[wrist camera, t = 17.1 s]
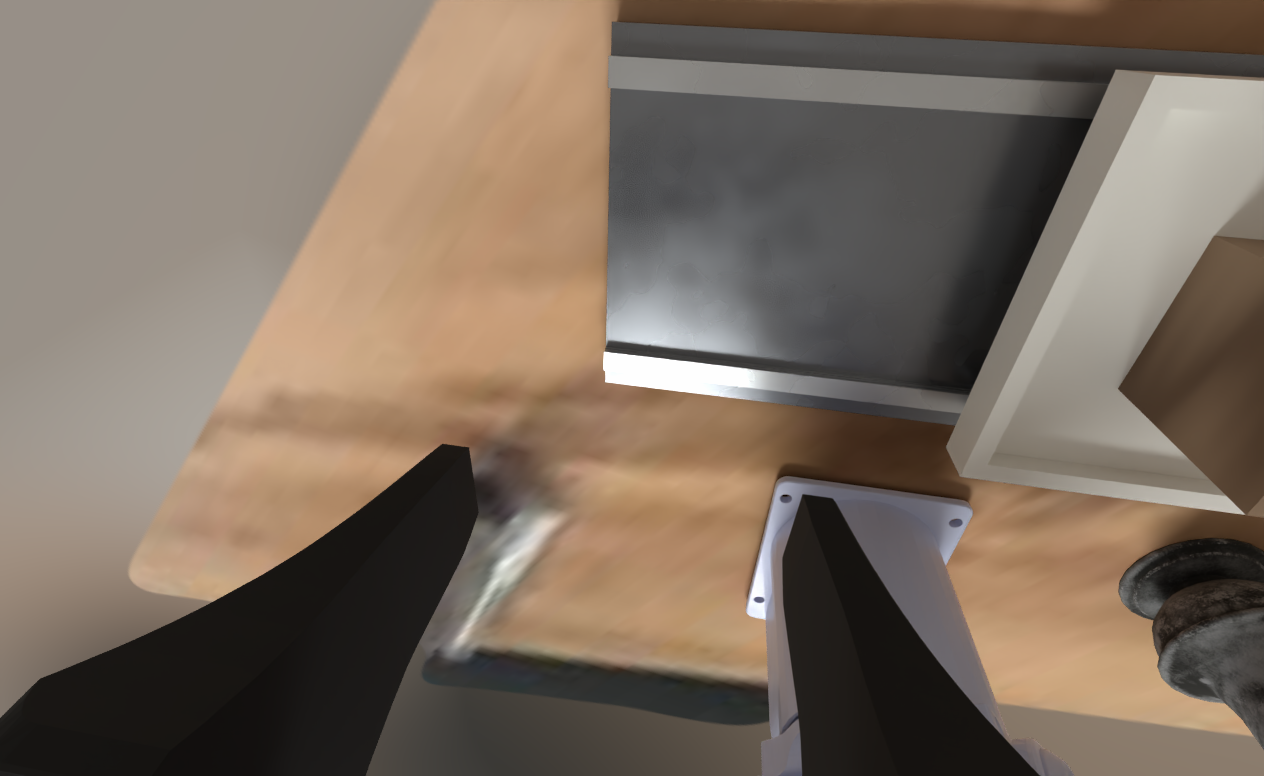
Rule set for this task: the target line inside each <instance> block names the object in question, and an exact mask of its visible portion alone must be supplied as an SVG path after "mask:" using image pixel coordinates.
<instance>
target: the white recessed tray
mask: <svg viewBox="0 0 1264 776" xmlns="http://www.w3.org/2000/svg"><path fill="white" fill-rule="evenodd" d="M1213 236H1224V237H1235V238H1247V239H1258V240H1264V78H1258V77H1240V76H1222V75H1204V74H1186V73H1168V72H1150V71H1132V70H1115V73H1114V75H1113V77H1112V79H1111V81H1110V84H1109V86H1108V88H1107V90H1106V93H1105V95H1104V97H1103V99H1102V101H1101V104H1100V106H1099V108H1098V110H1097V113H1096V115H1095V117H1094V119H1093V121H1092V124H1091V126H1090V128H1089V130H1088V133H1087V135H1086V137H1085V139H1084V141H1083V144H1082V146H1081V148H1080V150H1079V153H1078V155H1077V157H1076V159H1075V161H1074V164H1073V166H1072V168H1071V170H1070V173H1069V175H1068V177H1067V179H1066V181H1065V184H1064V186H1063V188H1062V190H1061V193H1060V195H1059V197H1058V199H1057V201H1056V204H1055V206H1054V208H1053V210H1052V213H1051V215H1050V217H1049V219H1048V221H1047V224H1046V226H1045V228H1044V230H1043V233H1042V235H1041V237H1040V239H1039V241H1038V244H1037V246H1036V248H1035V250H1034V253H1033V255H1032V257H1031V259H1030V261H1029V264H1028V266H1027V268H1026V270H1025V273H1024V275H1023V277H1022V279H1021V281H1020V284H1019V286H1018V288H1017V290H1016V292H1015V295H1014V297H1013V299H1012V301H1011V304H1010V306H1009V308H1008V310H1007V312H1006V315H1005V317H1004V319H1003V321H1002V324H1001V326H1000V328H999V330H998V332H997V335H996V337H995V339H994V341H993V344H992V346H991V348H990V350H989V352H988V355H987V357H986V359H985V361H984V364H983V366H982V368H981V370H980V372H979V375H978V377H977V379H976V381H975V384H974V386H973V388H972V390H971V392H970V395H969V397H968V399H967V401H966V404H965V406H964V408H963V410H962V412H961V415H960V417H959V419H958V421H957V424H956V426H955V428H954V430H953V432H952V435H951V437H950V439H949V441H948V444H947V446H946V448H947V451H948V453H949V455H950V457H951V459H952V461H953V463H954V465H955V467H956V469H957V472H958V474H959V476H960V477H965V478H973V479H980V480H988V481H995V482H1003V483H1010V484H1018V485H1025V486H1033V487H1040V488H1048V489H1055V490H1063V491H1070V492H1078V493H1085V494H1093V495H1100V496H1108V497H1115V498H1123V499H1130V500H1138V501H1145V502H1153V503H1160V504H1168V505H1175V506H1182V507H1190V508H1197V509H1205V510H1212V511H1220V512H1227V513H1235V514H1242V515H1245V514H1244V513H1243V512H1242V511H1241V510H1240V509H1239V508H1238V507H1237V506H1236V505H1235V504H1234V503H1233V502H1232V501H1231V500H1230V499H1229V498H1228V497H1227V496H1226V495H1225V494H1224V493H1223V492H1222V491H1221V490H1220V489H1219V488H1218V487H1217V486H1216V485H1215V484H1214V483H1213V482H1212V481H1211V480H1210V479H1209V478H1208V477H1207V476H1206V475H1205V474H1204V473H1203V472H1202V471H1201V470H1200V469H1199V468H1198V467H1197V466H1195V465H1194V464H1193V463H1192V462H1191V461H1190V460H1189V459H1188V458H1187V457H1186V456H1185V455H1184V454H1183V453H1182V452H1181V451H1180V450H1179V449H1178V448H1177V447H1176V446H1175V445H1174V444H1173V443H1172V442H1171V441H1170V440H1169V439H1168V438H1167V437H1166V436H1165V435H1164V434H1163V433H1162V432H1161V431H1160V430H1159V429H1158V428H1157V427H1156V426H1155V425H1154V424H1153V423H1152V422H1151V421H1150V420H1149V419H1148V418H1147V417H1146V416H1145V415H1144V414H1143V413H1142V412H1141V411H1140V410H1139V409H1138V408H1137V407H1136V406H1135V405H1134V404H1133V403H1132V402H1130V401H1129V400H1128V399H1127V398H1126V397H1125V396H1124V395H1123V394H1122V393H1121V392H1120V391H1119V390H1118V388H1119V386H1120V385H1121V383H1122V382H1123V380H1124V378H1125V377H1126V375H1127V374H1128V372H1129V370H1130V369H1131V367H1132V366H1133V364H1134V363H1135V361H1136V359H1137V358H1138V356H1139V355H1140V353H1141V351H1142V350H1143V348H1144V347H1145V345H1146V343H1147V342H1148V340H1149V339H1150V337H1151V335H1152V334H1153V332H1154V331H1155V329H1156V327H1157V326H1158V324H1159V323H1160V321H1161V319H1162V318H1163V316H1164V315H1165V313H1166V311H1167V310H1168V308H1169V307H1170V305H1171V303H1172V302H1173V300H1174V299H1175V297H1176V295H1177V294H1178V292H1179V291H1180V289H1181V287H1182V286H1183V284H1184V283H1185V281H1186V279H1187V278H1188V276H1189V275H1190V273H1191V272H1192V270H1193V268H1194V267H1195V265H1196V264H1197V262H1198V260H1199V259H1200V257H1201V256H1202V254H1203V252H1204V251H1205V249H1206V248H1207V246H1208V244H1209V243H1210V241H1211V240H1212V238H1213Z"/></svg>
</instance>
